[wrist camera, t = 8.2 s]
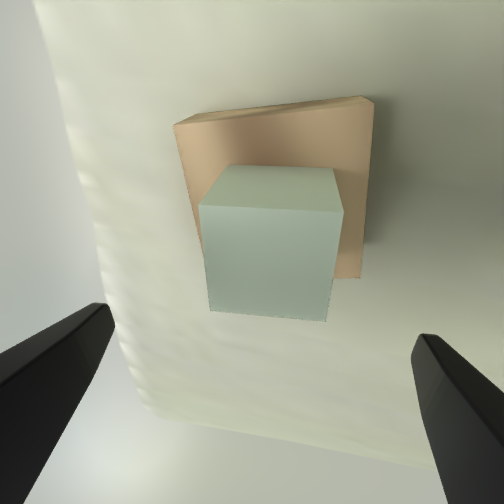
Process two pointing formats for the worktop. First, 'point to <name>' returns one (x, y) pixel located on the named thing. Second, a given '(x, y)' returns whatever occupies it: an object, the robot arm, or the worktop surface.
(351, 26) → the worktop surface
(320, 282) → the sage block
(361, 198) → the oak block
